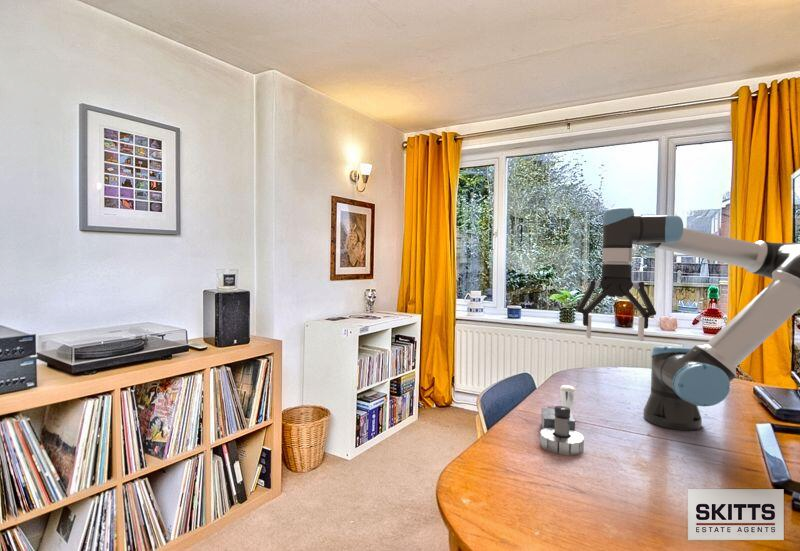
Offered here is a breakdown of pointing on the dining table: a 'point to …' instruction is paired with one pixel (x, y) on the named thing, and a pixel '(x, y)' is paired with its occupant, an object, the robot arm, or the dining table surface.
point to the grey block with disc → (557, 444)
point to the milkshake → (567, 396)
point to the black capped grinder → (562, 421)
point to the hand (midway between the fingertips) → (614, 338)
